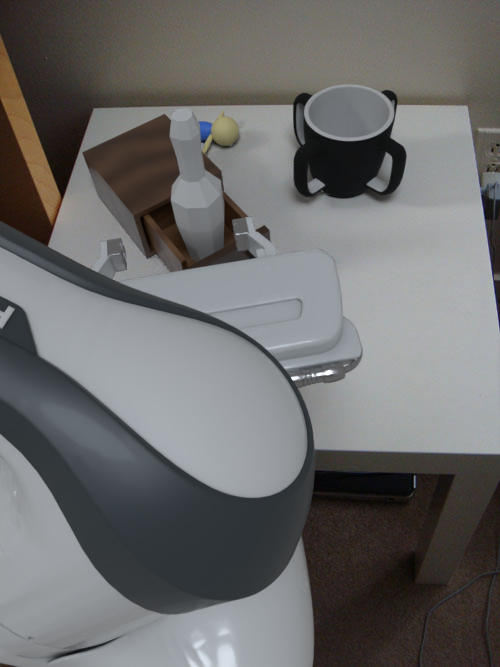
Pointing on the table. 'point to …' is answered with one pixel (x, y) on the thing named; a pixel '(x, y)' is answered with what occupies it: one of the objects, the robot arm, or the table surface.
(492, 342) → the table surface
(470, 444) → the table surface
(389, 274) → the table surface
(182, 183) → the faceted bottle
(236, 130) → the toy figure
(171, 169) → the cabinet
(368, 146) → the mug
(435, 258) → the table surface
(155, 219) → the drawer
